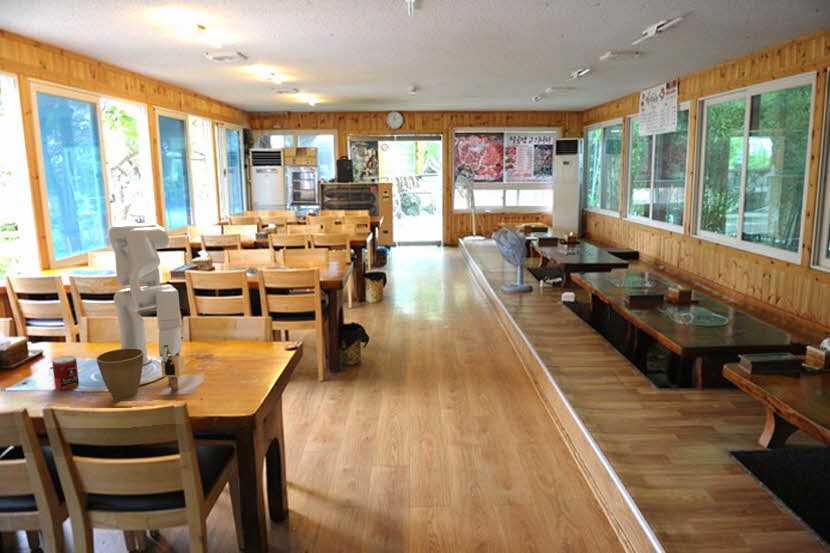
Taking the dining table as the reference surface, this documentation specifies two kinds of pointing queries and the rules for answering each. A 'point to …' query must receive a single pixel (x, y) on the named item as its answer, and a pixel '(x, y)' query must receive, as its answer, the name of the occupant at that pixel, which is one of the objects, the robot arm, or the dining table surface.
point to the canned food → (65, 372)
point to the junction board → (182, 384)
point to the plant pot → (121, 371)
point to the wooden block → (175, 365)
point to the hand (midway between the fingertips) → (173, 371)
